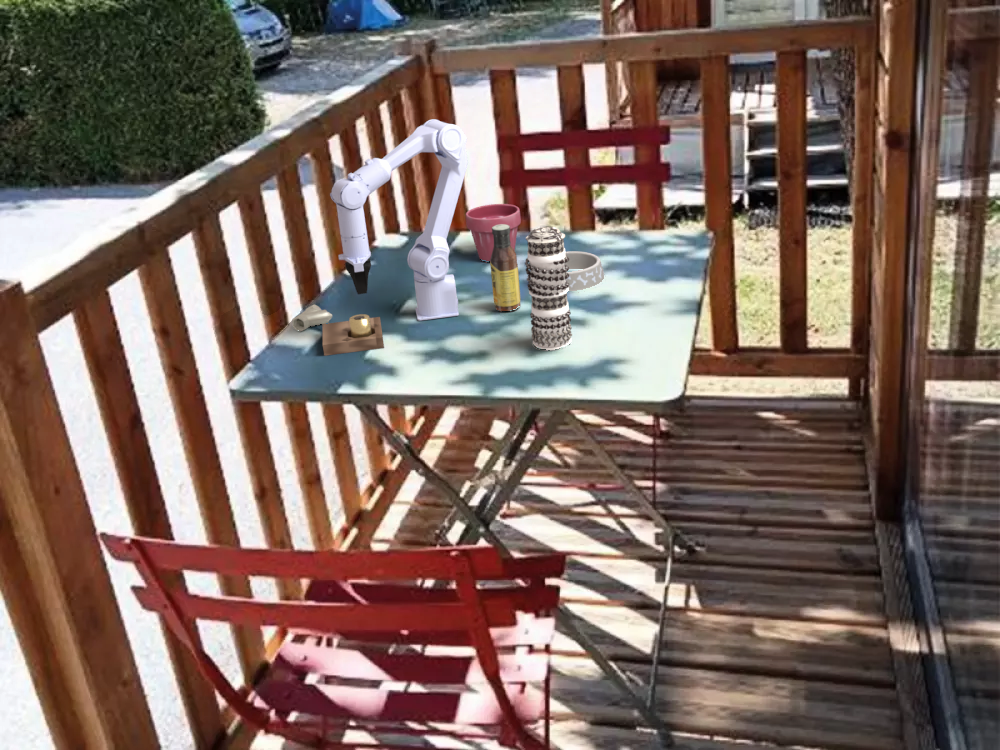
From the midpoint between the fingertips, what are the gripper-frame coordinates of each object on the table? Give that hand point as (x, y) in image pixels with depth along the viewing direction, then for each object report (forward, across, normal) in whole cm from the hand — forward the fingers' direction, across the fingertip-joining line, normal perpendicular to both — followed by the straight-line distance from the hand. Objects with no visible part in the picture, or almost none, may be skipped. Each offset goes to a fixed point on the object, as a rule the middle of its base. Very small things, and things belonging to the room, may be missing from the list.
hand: (362, 292), depth 253 cm
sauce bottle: (+10, -3, +33) cm, 34 cm away
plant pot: (+10, -42, +36) cm, 56 cm away
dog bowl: (+10, -16, +50) cm, 54 cm away
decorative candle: (+10, +21, +38) cm, 45 cm away
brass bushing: (+9, +7, -1) cm, 11 cm away
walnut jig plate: (+9, +5, -3) cm, 11 cm away
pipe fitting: (+10, -9, -12) cm, 18 cm away
